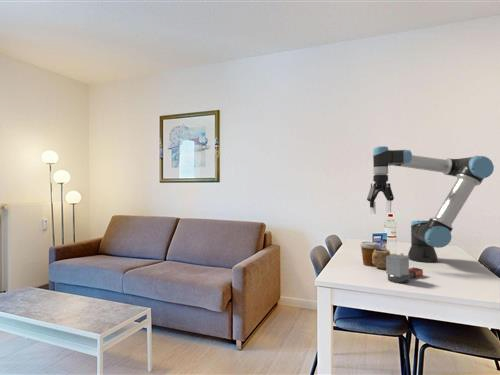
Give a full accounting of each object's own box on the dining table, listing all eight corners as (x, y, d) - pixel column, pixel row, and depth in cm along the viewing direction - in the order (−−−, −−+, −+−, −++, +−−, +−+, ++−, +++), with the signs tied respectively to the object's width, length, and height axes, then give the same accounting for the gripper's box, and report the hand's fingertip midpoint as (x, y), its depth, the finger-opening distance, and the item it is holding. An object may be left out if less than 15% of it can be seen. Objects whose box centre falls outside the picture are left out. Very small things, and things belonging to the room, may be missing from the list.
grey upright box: (395, 271, 143) (395, 254, 143) (408, 274, 137) (408, 257, 137) (386, 273, 140) (386, 256, 140) (400, 277, 134) (399, 259, 134)
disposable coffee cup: (357, 264, 166) (357, 243, 166) (364, 261, 173) (364, 240, 173) (374, 268, 160) (374, 245, 160) (381, 264, 167) (381, 242, 167)
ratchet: (409, 272, 151) (409, 254, 151) (427, 277, 143) (427, 258, 143) (383, 279, 141) (383, 260, 141) (401, 284, 133) (401, 264, 133)
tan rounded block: (407, 272, 151) (407, 252, 151) (373, 270, 156) (373, 251, 156) (404, 267, 160) (404, 249, 160) (371, 265, 164) (371, 247, 164)
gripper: (388, 175, 176) (388, 211, 177) (360, 174, 164) (360, 213, 164) (400, 174, 170) (400, 212, 170) (371, 174, 157) (372, 214, 157)
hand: (380, 212), depth 167 cm, fingers open, 13 cm apart
